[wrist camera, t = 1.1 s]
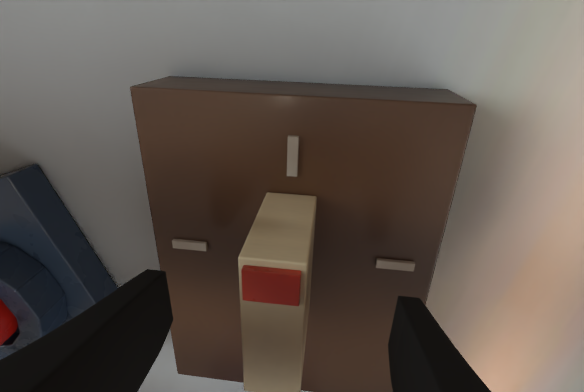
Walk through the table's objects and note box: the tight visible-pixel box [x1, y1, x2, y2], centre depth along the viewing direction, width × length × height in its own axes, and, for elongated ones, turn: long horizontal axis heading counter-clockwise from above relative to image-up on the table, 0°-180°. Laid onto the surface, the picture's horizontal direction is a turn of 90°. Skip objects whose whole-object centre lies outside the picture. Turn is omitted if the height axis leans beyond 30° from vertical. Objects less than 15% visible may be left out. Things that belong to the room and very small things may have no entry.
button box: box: [0, 164, 118, 360], centre depth 18 cm, size 11×9×4 cm
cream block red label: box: [238, 192, 317, 392], centre depth 11 cm, size 5×2×4 cm, turn 178°
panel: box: [130, 76, 477, 392], centre depth 15 cm, size 14×11×3 cm
